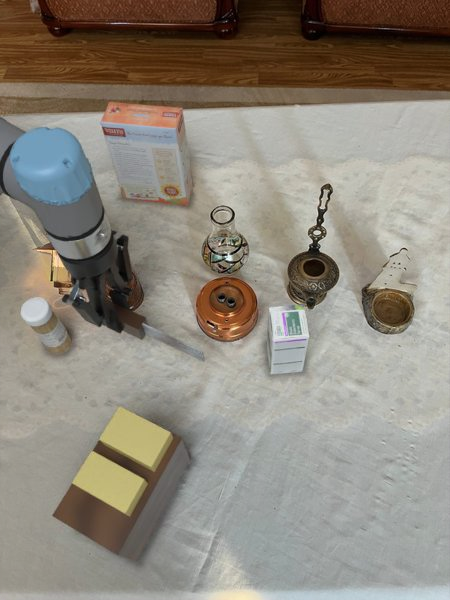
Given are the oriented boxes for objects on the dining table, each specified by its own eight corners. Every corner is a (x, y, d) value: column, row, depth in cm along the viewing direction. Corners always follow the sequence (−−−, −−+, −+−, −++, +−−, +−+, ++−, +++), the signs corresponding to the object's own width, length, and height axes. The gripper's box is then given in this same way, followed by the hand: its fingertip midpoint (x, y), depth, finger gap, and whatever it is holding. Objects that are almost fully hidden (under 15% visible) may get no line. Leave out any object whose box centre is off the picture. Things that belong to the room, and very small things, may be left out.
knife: (92, 316, 88) (85, 304, 85) (100, 305, 89) (94, 293, 86) (201, 368, 83) (199, 358, 80) (208, 356, 84) (207, 345, 81)
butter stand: (81, 528, 79) (51, 515, 67) (137, 433, 86) (119, 406, 73) (138, 562, 76) (117, 555, 64) (191, 461, 83) (181, 438, 71)
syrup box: (303, 373, 90) (312, 336, 77) (268, 376, 90) (272, 340, 77) (298, 342, 93) (306, 302, 80) (264, 345, 92) (267, 306, 80)
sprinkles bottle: (60, 328, 96) (34, 290, 84) (78, 341, 94) (54, 304, 82) (42, 347, 94) (13, 311, 82) (60, 360, 92) (33, 326, 81)
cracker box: (194, 186, 111) (184, 106, 93) (188, 208, 108) (176, 129, 90) (130, 179, 113) (108, 98, 95) (123, 200, 110) (98, 122, 92)
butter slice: (78, 487, 68) (71, 482, 66) (97, 455, 70) (91, 450, 67) (129, 516, 66) (125, 513, 64) (148, 483, 68) (144, 479, 65)
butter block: (104, 444, 71) (98, 439, 68) (123, 412, 73) (119, 405, 70) (154, 472, 69) (151, 467, 66) (173, 438, 71) (170, 432, 68)
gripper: (72, 296, 62) (113, 369, 83) (140, 204, 69) (162, 293, 90) (22, 272, 64) (74, 350, 85) (92, 185, 71) (125, 277, 91)
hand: (119, 321), depth 87 cm, fingers closed on knife, 2 cm apart
